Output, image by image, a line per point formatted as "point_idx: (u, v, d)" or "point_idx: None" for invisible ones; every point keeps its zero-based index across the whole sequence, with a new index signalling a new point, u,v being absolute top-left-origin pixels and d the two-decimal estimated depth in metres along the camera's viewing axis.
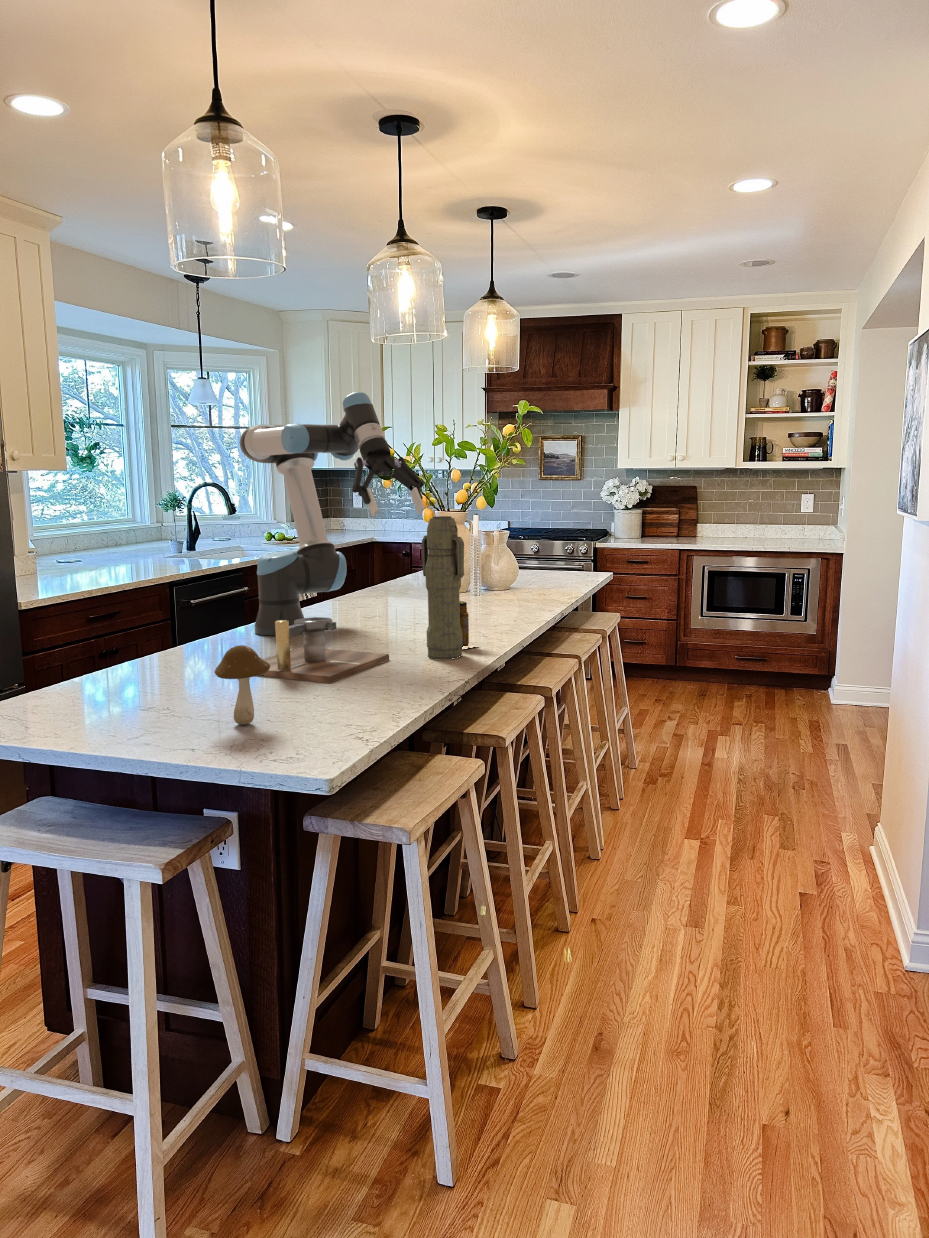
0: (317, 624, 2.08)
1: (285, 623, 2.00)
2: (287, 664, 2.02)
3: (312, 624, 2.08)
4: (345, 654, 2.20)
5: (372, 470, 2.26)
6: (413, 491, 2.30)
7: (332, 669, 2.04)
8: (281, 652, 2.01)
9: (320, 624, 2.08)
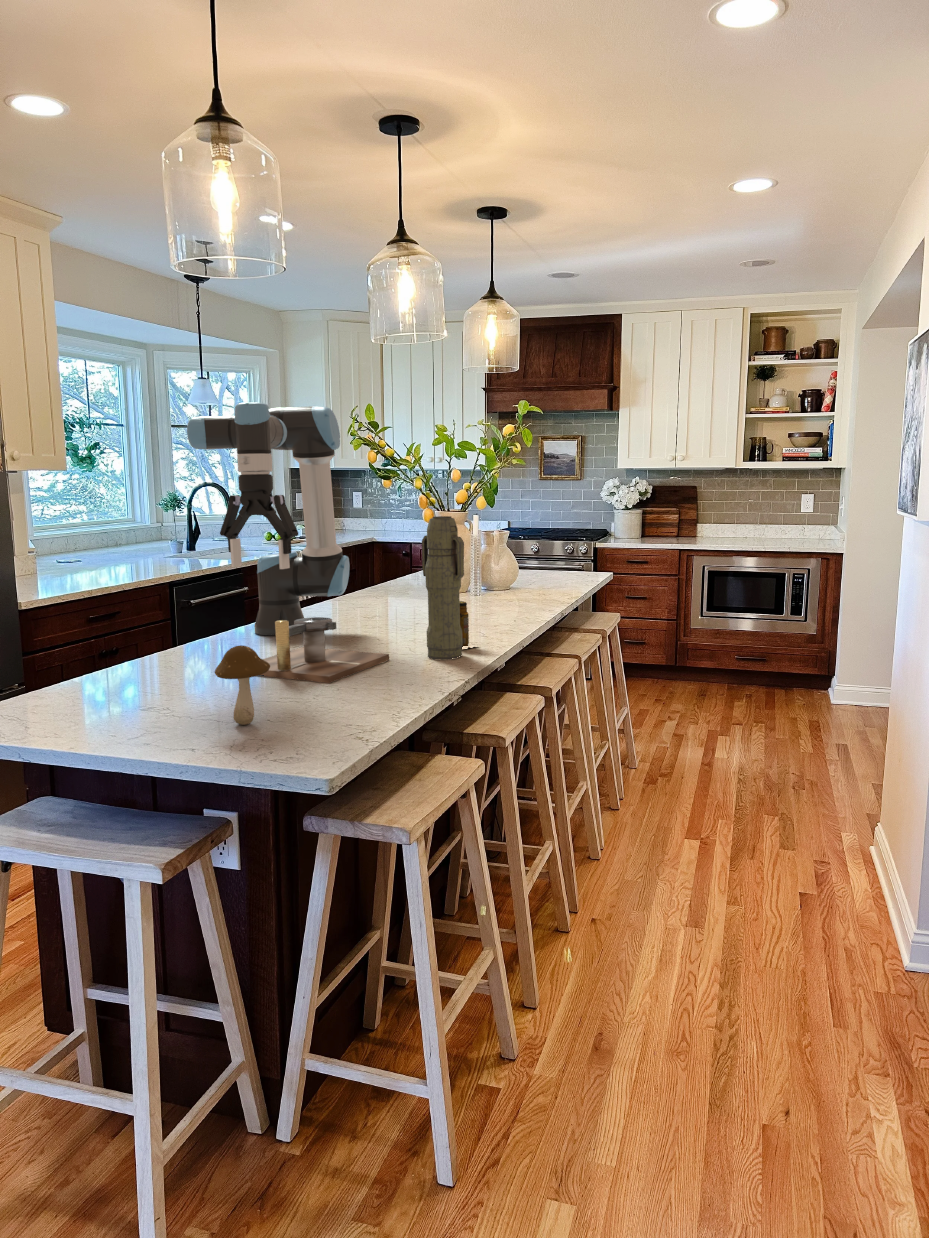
0: (317, 624, 2.08)
1: (285, 623, 2.00)
2: (287, 664, 2.02)
3: (312, 624, 2.08)
4: (345, 654, 2.20)
5: (239, 514, 2.01)
6: None
7: (332, 669, 2.04)
8: (281, 652, 2.01)
9: (320, 624, 2.08)
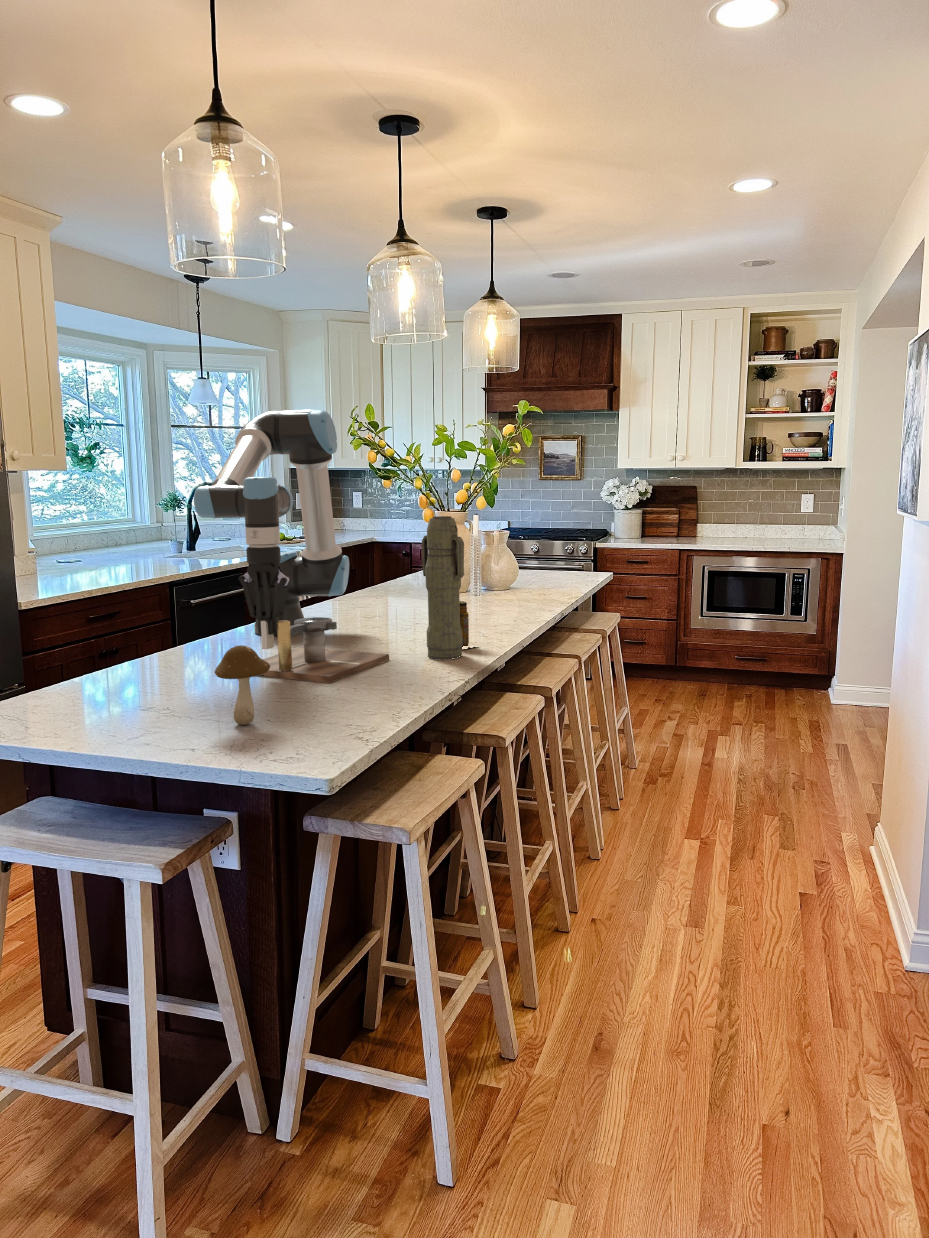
0: (318, 624, 2.08)
1: (287, 623, 2.00)
2: (288, 664, 2.02)
3: (313, 624, 2.08)
4: (345, 654, 2.20)
5: (256, 590, 2.01)
6: None
7: (332, 669, 2.04)
8: (283, 652, 2.01)
9: (321, 624, 2.09)
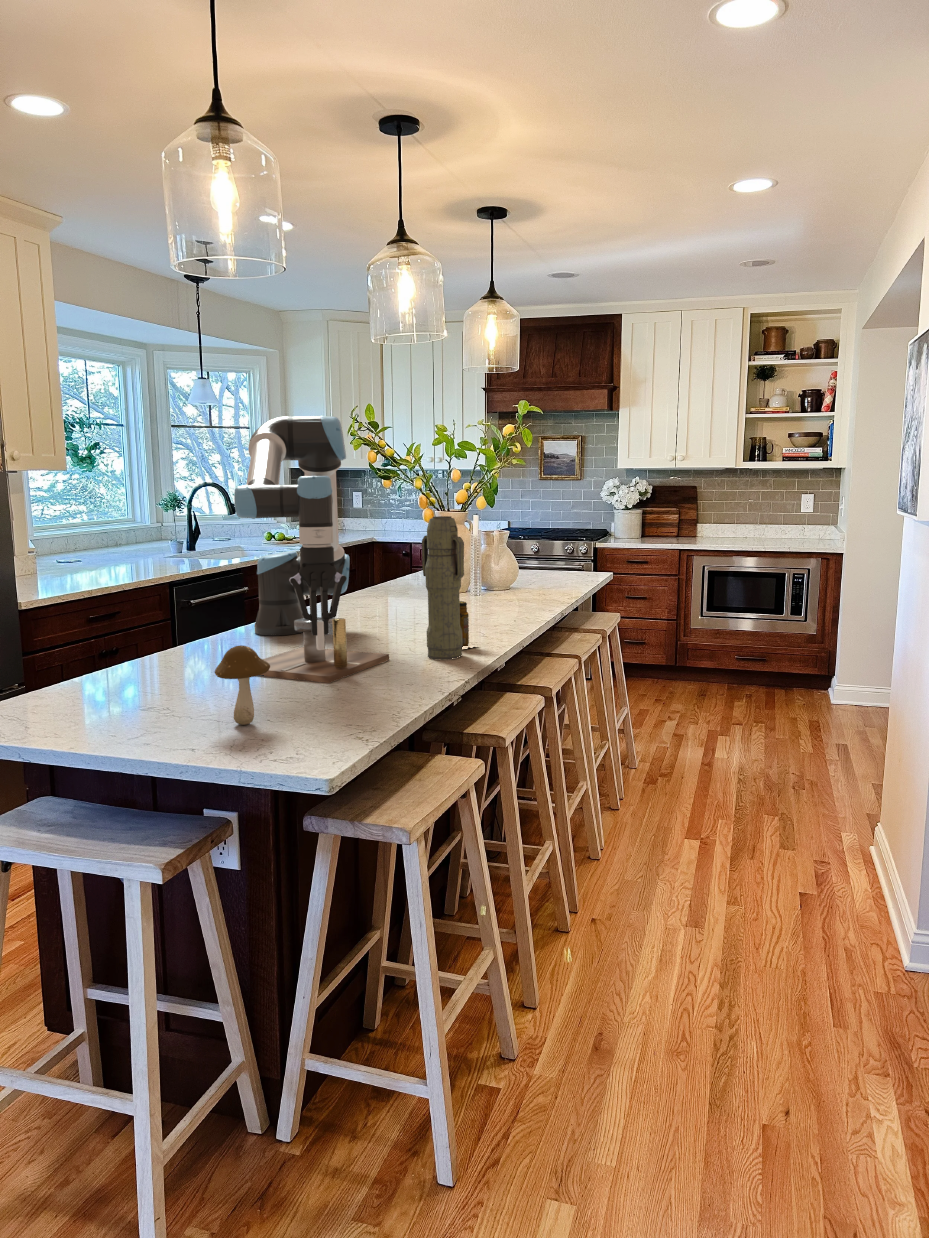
0: (331, 621, 2.12)
1: None
2: None
3: (330, 622, 2.11)
4: None
5: (312, 591, 1.98)
6: None
7: (332, 669, 2.04)
8: (345, 649, 2.03)
9: None
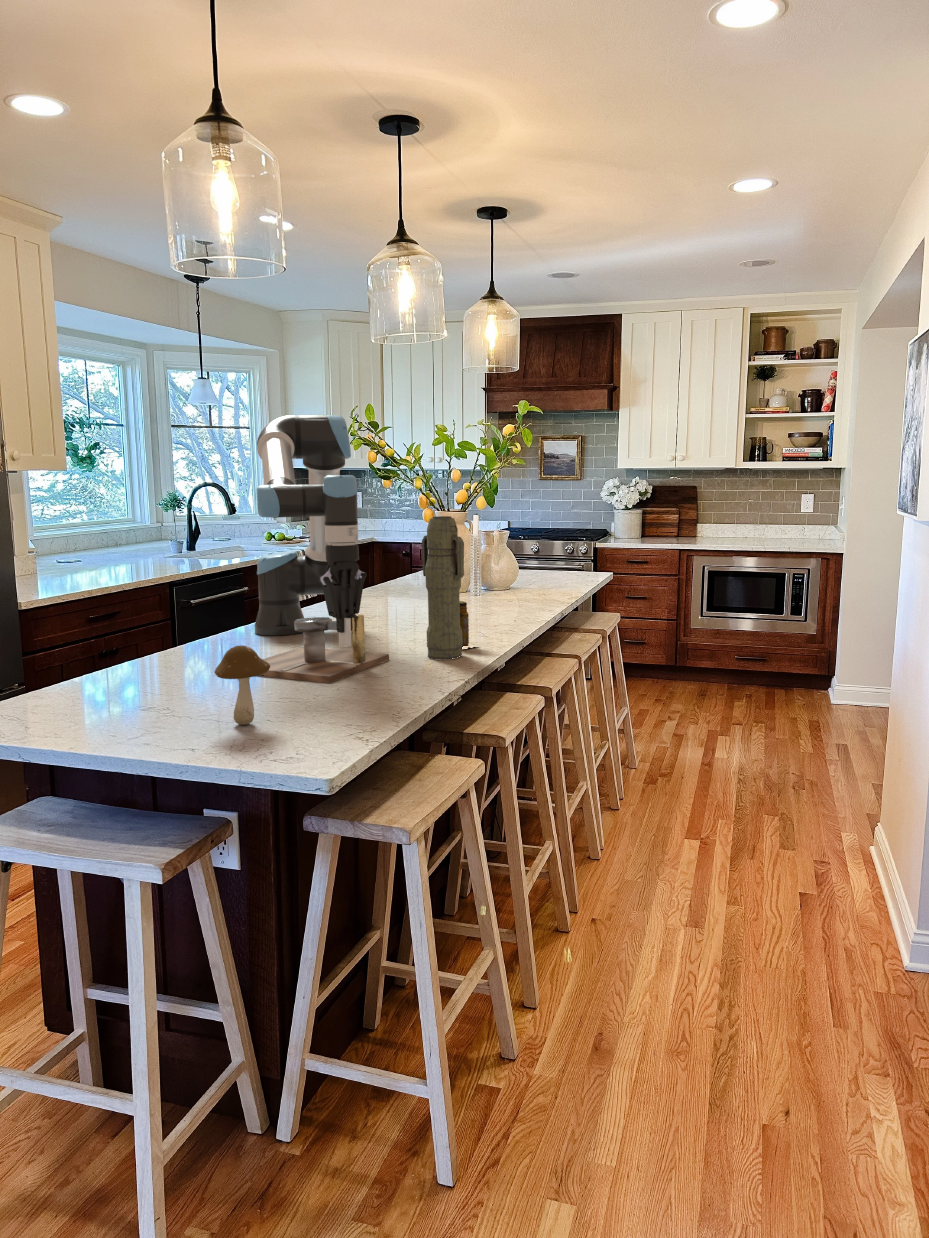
0: None
1: None
2: None
3: None
4: (345, 654, 2.20)
5: (342, 589, 2.01)
6: None
7: (332, 669, 2.04)
8: (364, 644, 2.09)
9: None
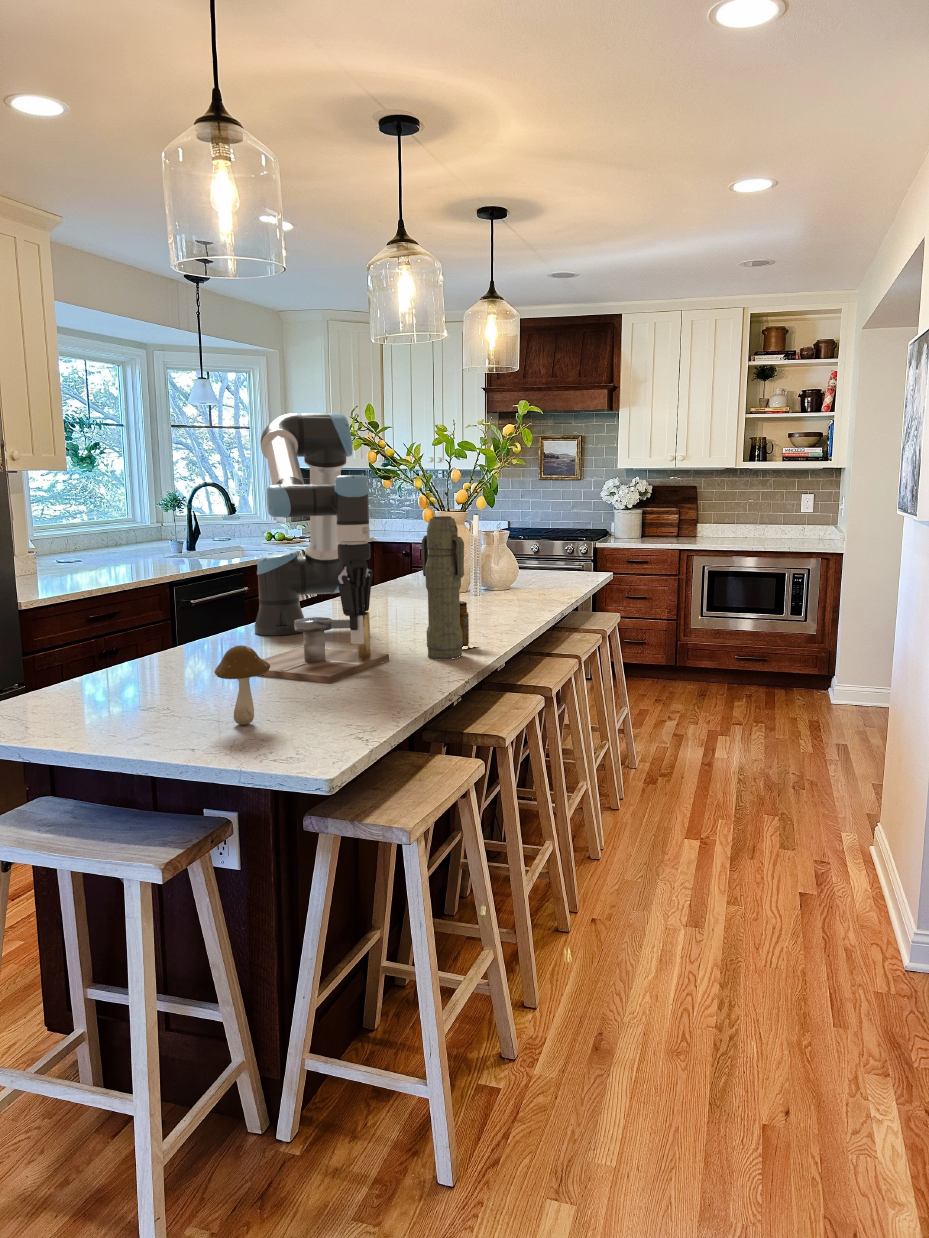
0: None
1: None
2: None
3: None
4: (345, 654, 2.20)
5: (356, 587, 2.04)
6: None
7: (332, 669, 2.04)
8: None
9: None
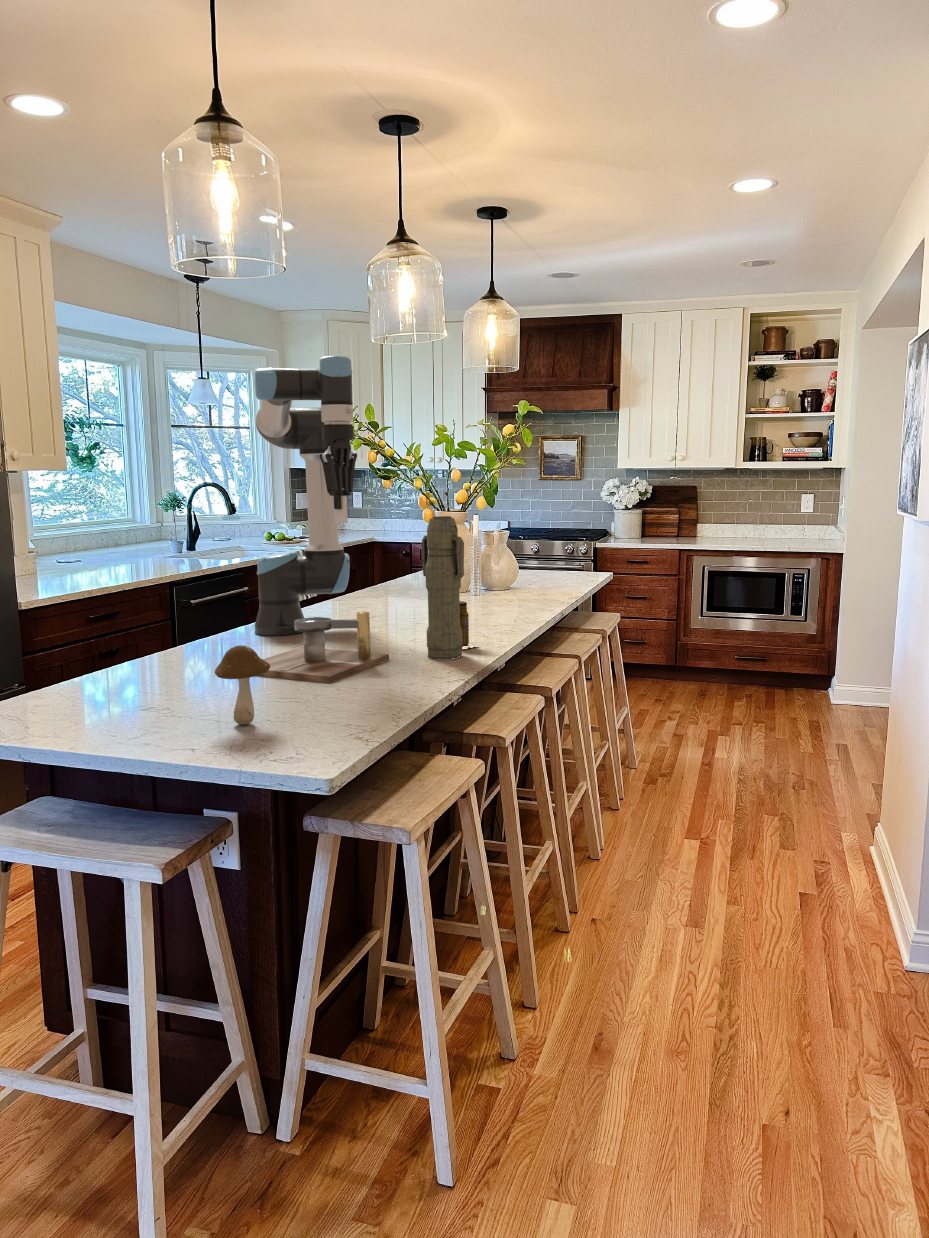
0: None
1: None
2: None
3: None
4: (345, 654, 2.20)
5: (340, 467, 2.11)
6: None
7: (332, 669, 2.04)
8: None
9: None
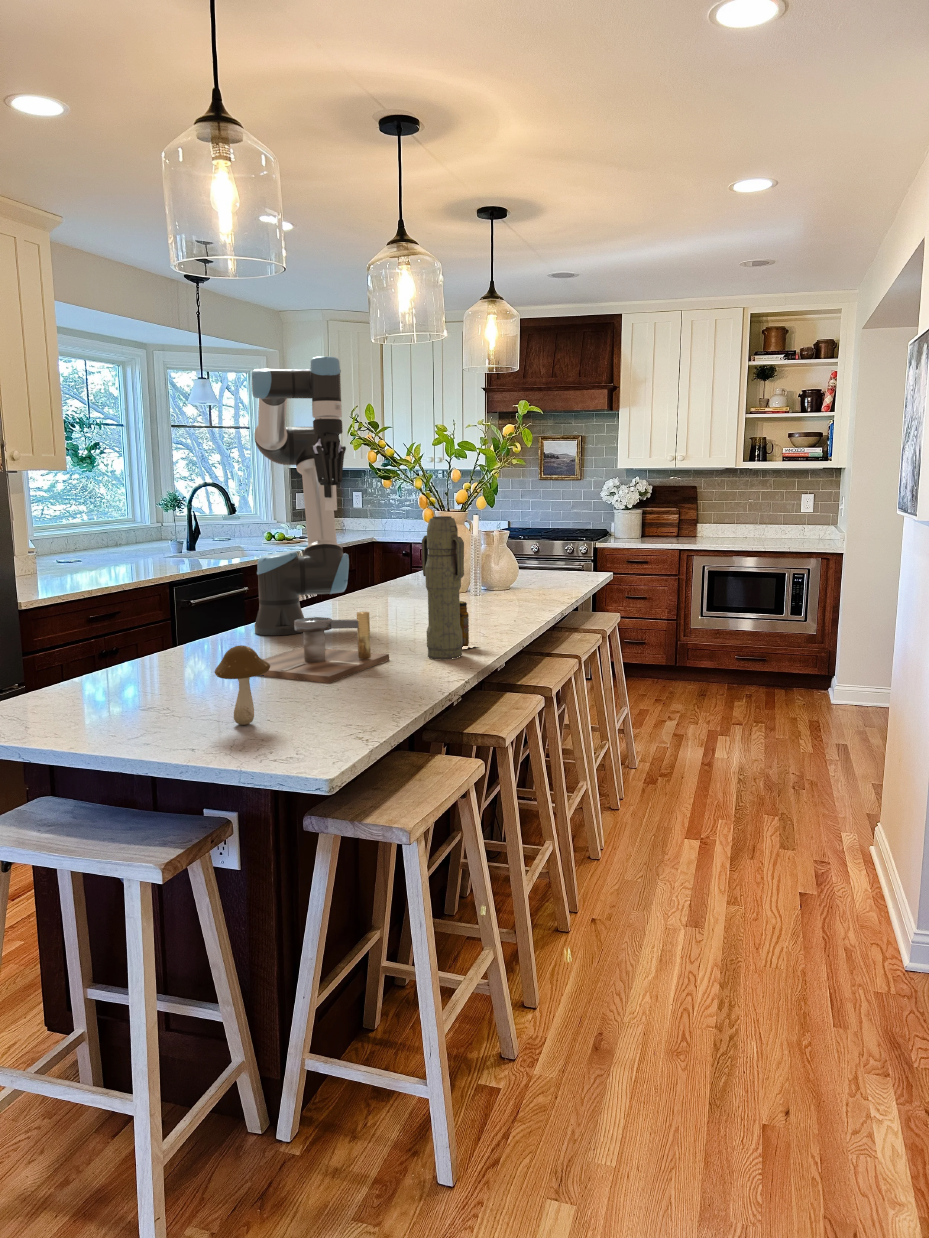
0: None
1: None
2: None
3: None
4: (345, 654, 2.20)
5: (330, 458, 2.29)
6: None
7: (332, 669, 2.04)
8: None
9: None
